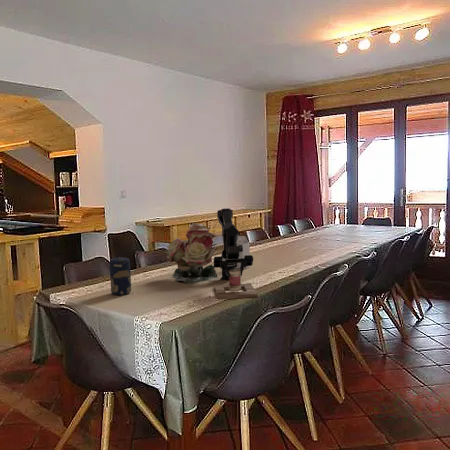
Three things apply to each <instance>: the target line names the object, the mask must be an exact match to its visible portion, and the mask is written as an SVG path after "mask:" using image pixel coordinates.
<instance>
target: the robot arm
mask: <svg viewBox="0 0 450 450" xmlns="http://www.w3.org/2000/svg"><path fill="white" fill-rule="evenodd" d="M216 218H217V219H218V223H219V225H221V236H222V245H223V249H222V252H221V255H220V256H214V257H213V261H212V262H213V266H214V267H215V268H220V269H221V277H220V280H228V281H229V270H232V269H237V268H236V267H237V263H241V266H240V269H239V270H241V273H240V276H241V277H242V275H243V271H244V270H245V269H246V268H245V267H247V266H250V267H252V266H253V265H254V264H253V263H254V256H253V254H250V255H245V256H244V258H240V259H239V252H243V246H242V245H238V246H237V240H238V236H241V235H240V232H239V230H238V228H237V227H236V225H234V223H233V218H234V211H233V209H231V208H228V207H227V208H221V209H219V210H217V211H216ZM244 268H245V269H244Z"/></svg>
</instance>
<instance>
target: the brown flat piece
mask: <svg viewBox="0 0 450 450" xmlns="http://www.w3.org/2000/svg"><path fill="white" fill-rule="evenodd" d="M229 286H230V285H229V283H228V284H214V287H213V288H214V291H215V294H216V297H217V300H223V299H242V298H243V299H244V298H258V297H259V296H258V292H257V290H256V289H255V287H254V286H253V285H252V283H249V282H248V283H241V285H240V286H241V290H243V291H230V290H229ZM227 291H230V292H227Z"/></svg>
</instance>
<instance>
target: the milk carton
mask: <svg viewBox="0 0 450 450" xmlns="http://www.w3.org/2000/svg"><path fill="white" fill-rule="evenodd" d="M238 245H242V246H243V252H239V259H240V258H244V256H245V255H251V252H250V249H251V248H250V241H249V240H248V239H247V236H244V235H239V236H238V240H237V246H238ZM240 266H241V263H237V267H236V268H235V269H238V270H240ZM250 267H251V266H247V267H245V268H244V270H245V269H248V268H250Z"/></svg>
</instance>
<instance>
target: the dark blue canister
mask: <svg viewBox="0 0 450 450" xmlns="http://www.w3.org/2000/svg"><path fill="white" fill-rule="evenodd" d="M130 261H131V260H130V258H128V257H122V256H118V257H113V258H110V259H109V262H108V264H109V278H110V279H109V280H110V292H111V294H112V295H118V296H122V295H127V294H129V293H131V292H132V275H131V262H130Z"/></svg>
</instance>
